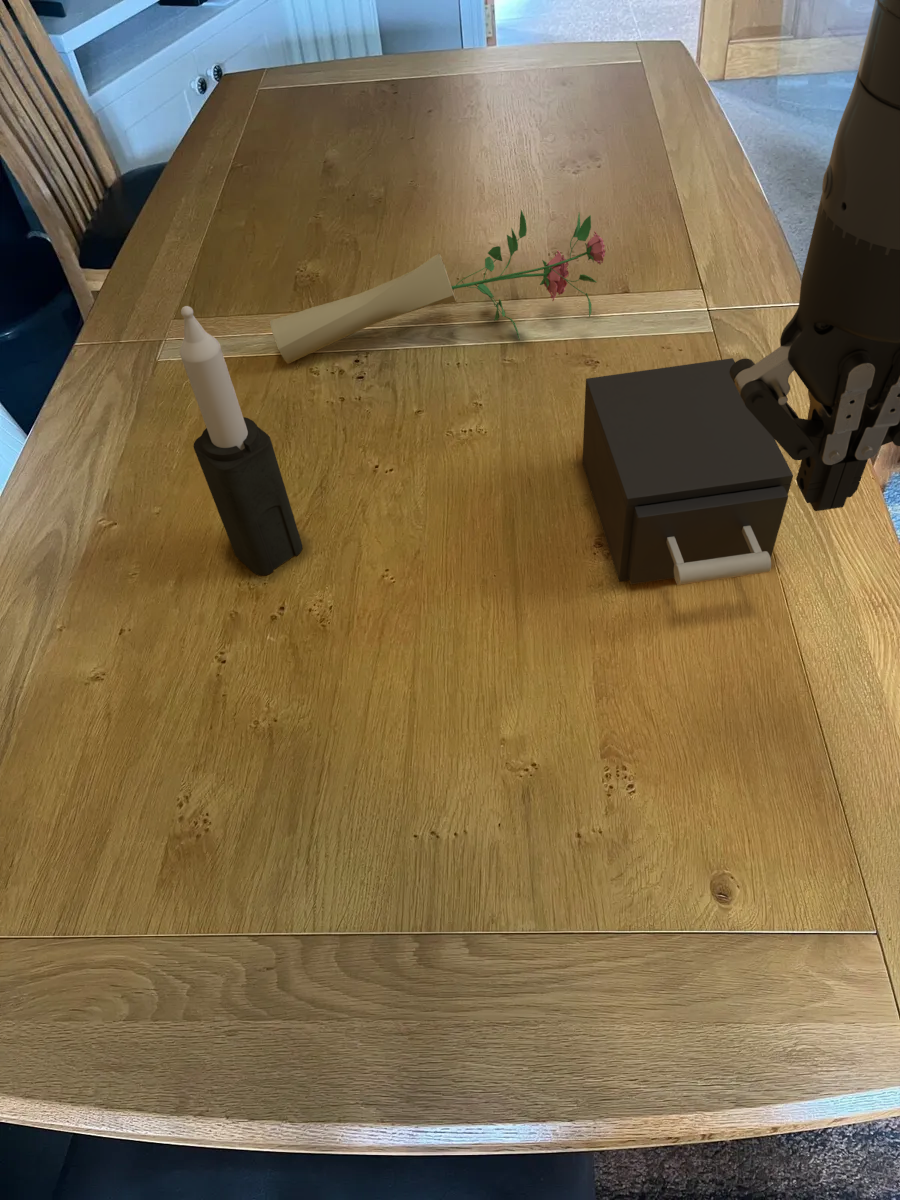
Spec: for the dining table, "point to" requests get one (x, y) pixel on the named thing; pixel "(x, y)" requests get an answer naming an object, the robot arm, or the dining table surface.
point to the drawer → (706, 536)
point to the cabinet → (670, 444)
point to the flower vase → (415, 296)
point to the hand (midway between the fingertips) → (822, 498)
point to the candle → (237, 460)
